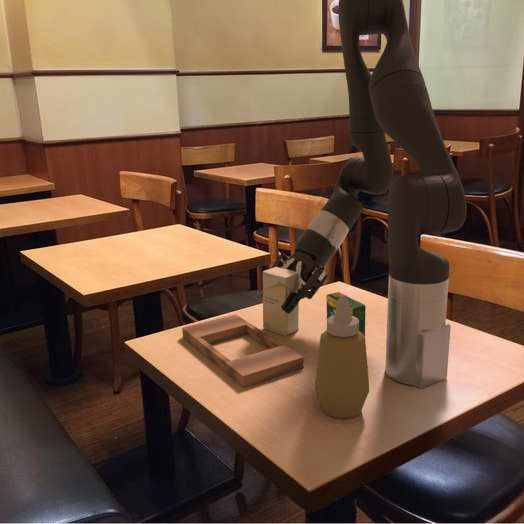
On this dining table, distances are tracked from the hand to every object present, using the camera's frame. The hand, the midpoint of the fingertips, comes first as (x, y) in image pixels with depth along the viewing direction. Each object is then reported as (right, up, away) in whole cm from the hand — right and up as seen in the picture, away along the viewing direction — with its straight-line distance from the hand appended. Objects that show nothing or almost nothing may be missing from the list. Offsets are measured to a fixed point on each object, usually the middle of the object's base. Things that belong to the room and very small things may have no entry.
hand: (274, 305), depth 113 cm
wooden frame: (-7, -8, -7) cm, 12 cm away
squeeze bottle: (+10, -14, -27) cm, 31 cm away
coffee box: (+12, -10, -15) cm, 22 cm away
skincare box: (+1, -5, +2) cm, 6 cm away
